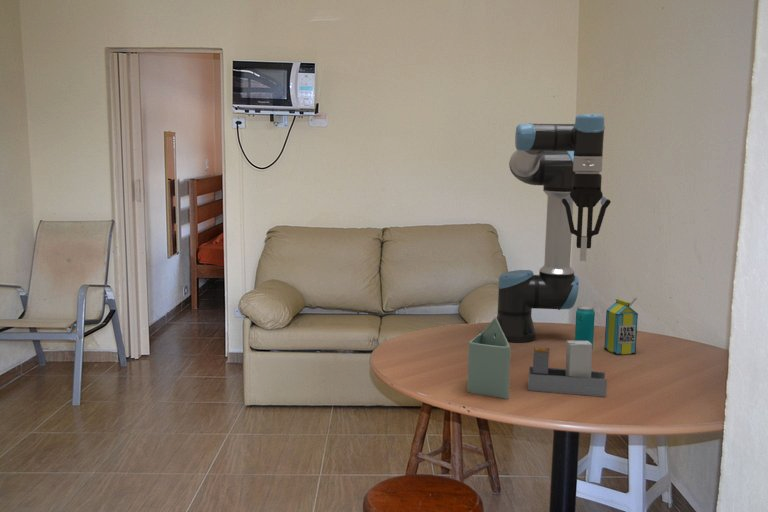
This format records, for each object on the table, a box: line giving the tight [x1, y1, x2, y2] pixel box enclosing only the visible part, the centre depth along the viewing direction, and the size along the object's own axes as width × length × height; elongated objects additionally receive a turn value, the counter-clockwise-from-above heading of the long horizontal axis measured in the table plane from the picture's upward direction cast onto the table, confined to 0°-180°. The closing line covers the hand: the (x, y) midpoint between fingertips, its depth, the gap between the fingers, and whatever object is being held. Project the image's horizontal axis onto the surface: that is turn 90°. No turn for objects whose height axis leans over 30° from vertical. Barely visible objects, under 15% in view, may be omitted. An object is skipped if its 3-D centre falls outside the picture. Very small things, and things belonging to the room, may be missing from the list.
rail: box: [527, 346, 608, 398], centre depth 192 cm, size 8×20×11 cm, turn 77°
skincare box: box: [565, 340, 593, 378], centre depth 191 cm, size 6×4×12 cm
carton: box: [603, 297, 639, 356], centre depth 231 cm, size 7×8×18 cm
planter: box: [466, 317, 511, 400], centre depth 190 cm, size 16×8×20 cm, turn 20°
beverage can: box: [574, 305, 596, 351], centre depth 229 cm, size 6×6×15 cm
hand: (582, 260), depth 195 cm, fingers closed
